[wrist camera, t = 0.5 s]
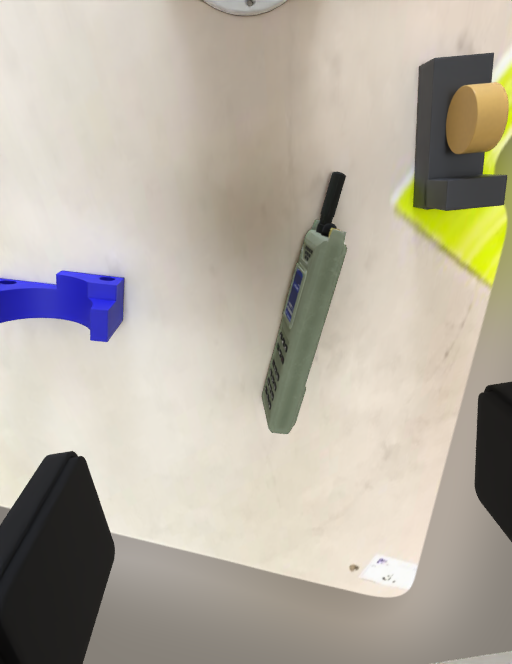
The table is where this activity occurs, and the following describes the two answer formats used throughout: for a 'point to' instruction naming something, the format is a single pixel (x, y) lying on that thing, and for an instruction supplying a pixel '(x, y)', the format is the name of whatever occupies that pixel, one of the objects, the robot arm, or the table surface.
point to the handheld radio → (304, 314)
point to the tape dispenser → (458, 133)
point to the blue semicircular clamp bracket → (67, 301)
